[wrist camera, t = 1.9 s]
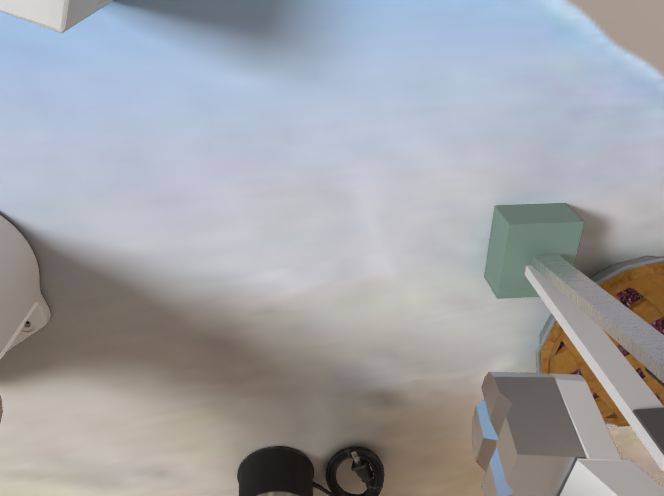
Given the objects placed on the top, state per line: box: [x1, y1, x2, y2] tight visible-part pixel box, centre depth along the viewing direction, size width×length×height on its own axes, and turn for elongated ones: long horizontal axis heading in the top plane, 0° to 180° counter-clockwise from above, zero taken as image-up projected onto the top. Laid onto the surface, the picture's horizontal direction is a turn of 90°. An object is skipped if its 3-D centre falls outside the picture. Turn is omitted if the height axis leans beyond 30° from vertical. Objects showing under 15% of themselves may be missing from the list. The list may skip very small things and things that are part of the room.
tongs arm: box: [532, 255, 664, 387], centre depth 45 cm, size 1×2×22 cm, turn 90°
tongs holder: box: [484, 203, 664, 471], centre depth 48 cm, size 8×7×27 cm
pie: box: [536, 256, 664, 427], centre depth 65 cm, size 22×22×5 cm
